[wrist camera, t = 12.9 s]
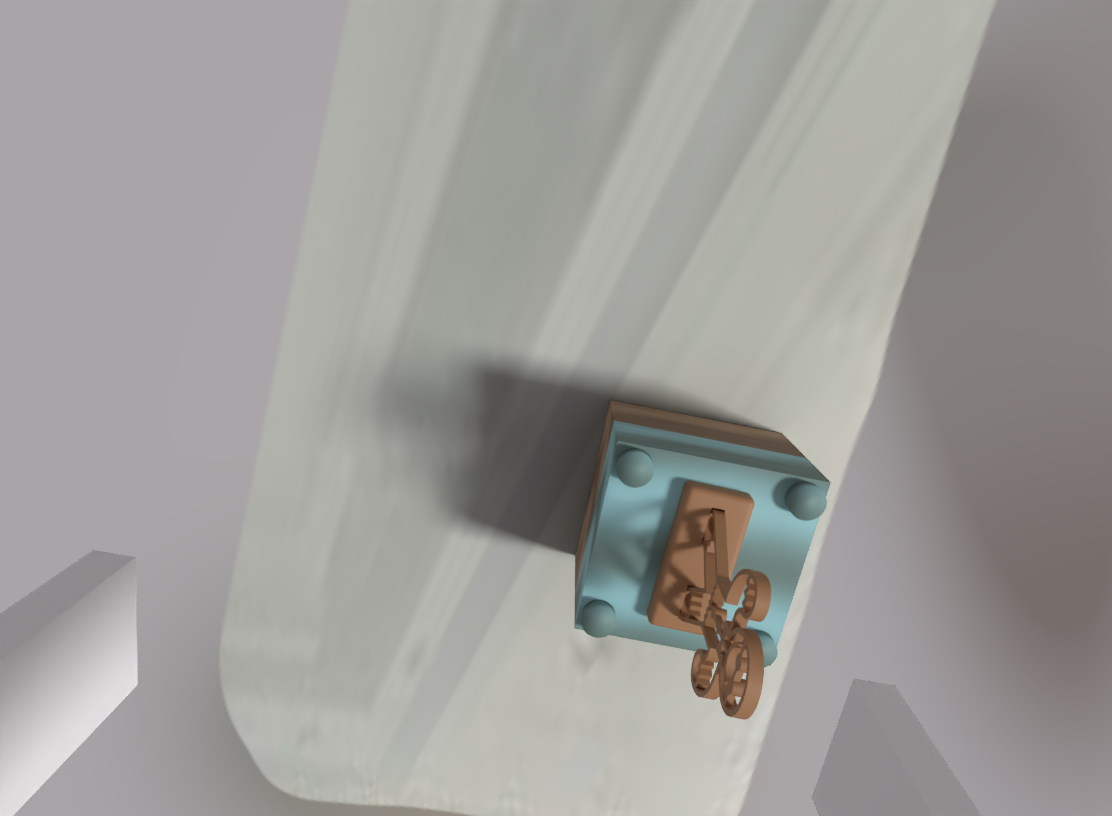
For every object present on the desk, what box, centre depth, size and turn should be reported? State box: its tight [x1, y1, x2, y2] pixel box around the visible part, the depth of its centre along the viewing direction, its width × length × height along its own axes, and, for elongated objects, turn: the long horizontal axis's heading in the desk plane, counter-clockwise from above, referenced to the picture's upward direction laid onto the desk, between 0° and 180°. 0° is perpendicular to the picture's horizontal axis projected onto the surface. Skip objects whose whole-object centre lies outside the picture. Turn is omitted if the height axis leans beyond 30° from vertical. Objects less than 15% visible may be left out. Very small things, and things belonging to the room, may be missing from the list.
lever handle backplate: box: [647, 481, 771, 720], centre depth 32 cm, size 9×4×12 cm, turn 168°
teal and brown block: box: [575, 400, 831, 667], centre depth 42 cm, size 12×12×10 cm
